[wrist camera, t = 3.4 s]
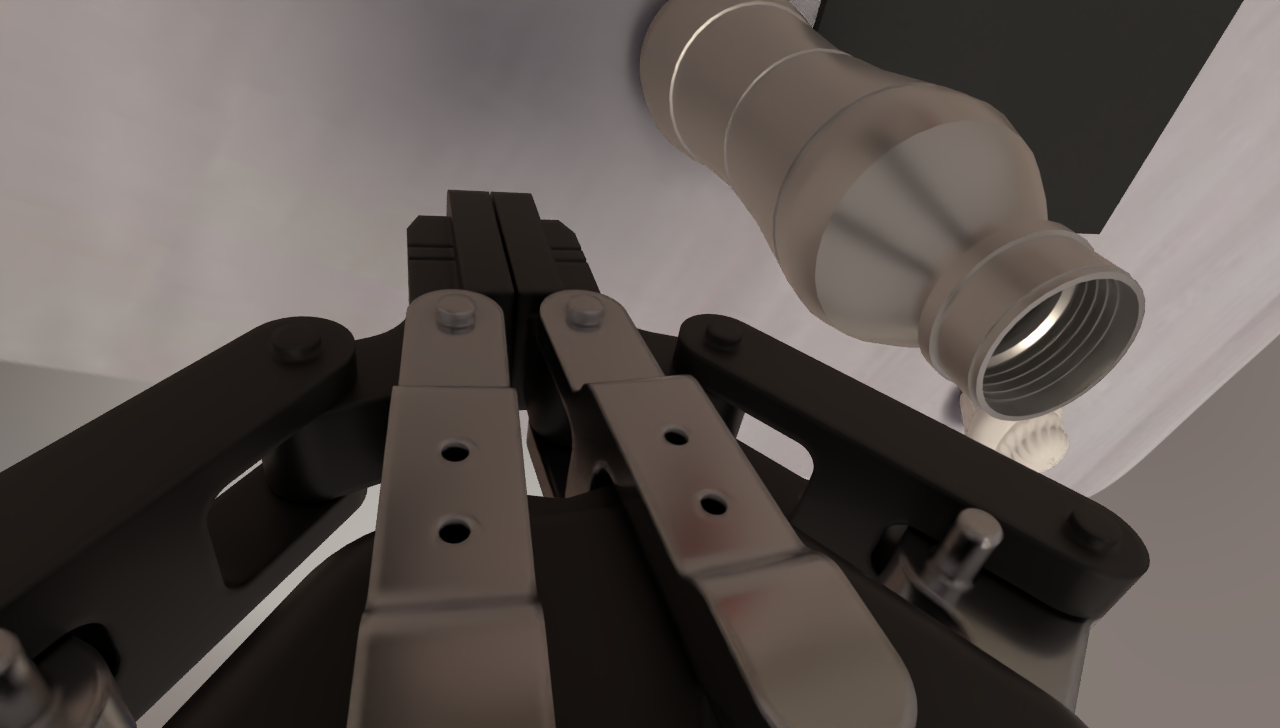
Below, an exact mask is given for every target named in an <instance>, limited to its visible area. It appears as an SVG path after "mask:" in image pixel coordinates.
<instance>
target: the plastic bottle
mask: <svg viewBox="0 0 1280 728" xmlns="http://www.w3.org/2000/svg"><path fill="white" fill-rule="evenodd" d="M640 79H641V86H642V90H643V93H644V97H645V100H646V103H647V106H648V109H649V112H650V114H651V116H652V118H653V120H654V122H655V124H656V126H657V128H658V129H659V130H660V132H661V133H662V134H663V135H664V136H665V138H666V139H667V140H668V141H669V142H671V143H672V144H673V145H674V146H676V147H677V148H678V149H679V150H681V151H682V152H684V153H685V154H686V155H688V156H689V157H690V158H692V159H693V160H695V161H698V162H700V163H702V164H704V165H706V166H707V167H708V168H710V169H711V170H712V171H713V172H714V173H715V174H717V175H718V176H719V177H720V178H721V179H722V180H724V181H725V182H726V183H727V184H728V185H729V186H731V188H732V189H733V190H734V192H735V193H736V194H737V196H738V197H739V198H740V200H741V201H742V203H743V204H744V205H745V207H746V208H747V210H748V211H749V212H750V214H751V215H752V216H753V218H754V219H755V220H756V222H757V224H758V225H759V227H760V229H761V231H762V233H763V235H764V237H765V239H766V241H767V243H768V244H769V246H770V248H771V250H772V252H773V254H774V256H775V258H776V260H777V261H778V263H779V265H780V267H781V269H782V271H783V273H784V274H785V277H786V279H787V281H788V282H789V284H790V285H791V287H792V288H793V289H794V291H795V292H796V294H797V296H798V297H799V299H800V300H801V301H802V302H803V304H804V305H805V306H806V307H807V308H808V310H809V311H810V312H811V313H812V314H813V315H815V316H816V317H818V318H819V319H820V320H822V321H823V322H825V323H826V324H828V325H830V326H832V327H834V328H835V329H837V330H839V331H841V332H843V333H844V334H846V335H848V336H851V337H854V338H856V339H859V340H862V341H865V342H872V343H879V344H886V345H893V346H900V347H909V348H920V350H921V353H922V354H923V356H924V357H925V359H926V360H927V362H928V363H929V364H930V365H931V366H932V367H933V368H934V369H935V370H936V371H937V372H938V373H939V374H940V375H941V376H943V377H944V378H945V379H947V380H949V381H952V382H954V383H955V384H956V385H957V386H958V387H959V388H960V389H961V390H962V391H963V392H964V393H965V395H966V396H968V398H969V399H970V400H971V401H972V402H973V403H974V404H975V405H976V406H977V407H979V408H980V409H981V410H983V411H984V412H986V413H987V414H989V415H990V416H991V417H994V418H997V419H1000V420H1005V421H1020V420H1028V419H1032V418H1036V417H1039V416H1043V415H1045V414H1048V413H1050V412H1053V411H1055V410H1057V409H1059V408H1061V407H1063V406H1065V405H1067V404H1069V403H1070V402H1072V401H1074V400H1075V399H1077V398H1078V397H1080V396H1081V395H1083V394H1084V393H1086V392H1087V391H1088V390H1090V389H1091V388H1092V387H1093V386H1095V385H1096V384H1097V383H1098V382H1100V381H1101V380H1102V379H1103V378H1104V377H1105V376H1106V375H1107V374H1108V373H1109V372H1110V371H1111V370H1112V369H1113V368H1114V367H1115V366H1116V364H1117V363H1118V362H1119V361H1120V360H1121V358H1122V357H1123V356H1124V355H1125V353H1126V352H1127V350H1128V349H1129V347H1130V346H1131V344H1132V343H1133V341H1134V339H1135V337H1136V335H1137V333H1138V331H1139V329H1140V327H1141V324H1142V320H1143V317H1144V313H1145V297H1144V294H1143V290H1142V288H1141V287H1140V285H1139V284H1138V283H1137V281H1136V280H1134V279H1133V278H1132V277H1131V276H1130V274H1129V273H1127V272H1126V271H1124V270H1123V269H1121V268H1119V267H1118V266H1116V265H1115V264H1113V263H1112V262H1110V261H1108V260H1107V259H1105V258H1104V257H1102V256H1101V255H1099V254H1098V253H1096V252H1094V249H1093V248H1092V246H1091V245H1090V244H1089V242H1088V241H1087V240H1086V239H1084V238H1083V237H1081V236H1080V235H1078V234H1077V233H1075V232H1073V231H1072V230H1070V229H1069V228H1067V227H1066V226H1064V225H1062V224H1060V223H1056V222H1053V221H1049V220H1048V216H1047V205H1046V198H1045V193H1044V189H1043V184H1042V180H1041V176H1040V171H1039V168H1038V165H1037V163H1036V160H1035V157H1034V154H1033V152H1032V151H1031V150H1030V148H1029V147H1028V145H1027V144H1026V143H1025V141H1024V140H1023V139H1022V137H1021V136H1020V135H1019V134H1018V132H1017V131H1016V130H1015V128H1014V127H1013V126H1012V124H1011V123H1010V122H1009V120H1008V119H1007V118H1006V117H1005V115H1004V114H1003V113H1001V112H1000V111H998V110H997V109H996V108H994V107H993V106H991V105H990V104H989V103H987V102H984V101H982V100H979V99H976V98H974V97H972V96H969V95H967V94H965V93H962V92H959V91H956V90H953V89H950V88H947V87H944V86H939V85H936V84H932V83H929V82H925V81H922V80H918V79H914V78H911V77H907V76H903V75H900V74H896V73H892V72H889V71H885V70H882V69H880V68H878V67H876V66H874V65H871V64H869V63H867V62H865V61H863V60H861V59H858V58H855V57H853V56H851V55H850V54H847V53H845V52H843V51H841V50H839V49H837V48H836V47H835V46H833V45H832V44H831V43H830V42H829V41H827V40H826V39H825V38H824V37H822V36H821V35H820V34H819V33H817V32H816V31H815V30H814V29H813V28H812V27H811V26H810V25H809V23H808V22H807V20H806V19H805V18H804V17H803V16H802V15H801V13H800V12H799V11H798V10H797V9H796V8H795V7H794V6H793V5H792V4H791V3H790V2H789V1H788V0H668V1H667V2H666V3H665V4H664V5H663V6H662V8H661V9H660V10H659V12H658V13H657V15H656V16H655V17H654V19H653V20H652V23H651V25H650V27H649V29H648V31H647V33H646V35H645V39H644V43H643V46H642V50H641V57H640Z"/></svg>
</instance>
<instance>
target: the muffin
mask: <svg viewBox="0 0 1280 728" xmlns="http://www.w3.org/2000/svg"><path fill="white" fill-rule="evenodd" d="M959 402H960V408H961V414H962V420H963V425H964V431H965V436H967V437H969V438H971V439H973V440H975V441H977V442H979V443H981V444H983V445H985V446H987V447H989V448H991V449H993V450H995V451H997V452H999V453H1001V454H1003V455H1005V456H1007V457H1009V458H1011V459H1013V460H1015V461H1016V462H1018V463H1020V464H1022V465H1024V466H1026V467H1028V468H1030V469H1032V470H1034V471H1036V472H1038V473H1041V472H1043V471H1047V470H1049V469H1050V468H1051V467H1054V466H1055V465H1056V463H1058V462H1060V461H1061V459H1062V458H1063V457H1064V456H1065V455H1066V452H1067V450H1068V448H1069V444H1068V436H1067V434H1065V433H1064V431H1063V430H1062V427H1063V423H1062V407H1061V408H1059V409H1057V410H1055V411H1053V412H1050V413H1048V414H1045V415H1043V416H1039V417H1036V418H1032V419H1028V420H1020V421H1005V420H1000V419H997V418H994V417H991V416H990V415H989V414H987V413H986V412H984V411H983V410H981V409H980V408H979V407H977V406H976V405H975V404H974V403H973V402H972V401H971V400H970V399H969V398H968V396H966V395H965V393H964V392H963V391H962V394H961V395H960V400H959Z"/></svg>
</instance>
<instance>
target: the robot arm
mask: <svg viewBox="0 0 1280 728" xmlns="http://www.w3.org/2000/svg"><path fill="white" fill-rule="evenodd" d="M407 251H408V287H409V306H408V308H407V312H406V318H405V320H404V321H403V322H402V323H401V324H399V325H398V326H396V327H395V328H393V329H391V330H389V331H387V332H385V333H382V334H380V335H376V336H373V337H369V338H364V339H359V340H354V337H353V335H352V333H351V332H350V331H349V330H348V329H347V328H345V327H344V326H343V325H341V324H339V323H337V322H334V321H331V320H328V319H324V318H318V317H305V316H299V317H288V318H282V319H278V320H274V321H270V322H268V323H265V324H262V325H260V326H258V327H256V328H254V329H252V330H251V331H249V332H247V333H245V334H244V335H242V336H240V337H238V338H237V339H235V340H233V341H231V342H230V343H228V344H226V345H224V346H222V347H221V348H219V349H217V350H215V351H214V352H212V353H210V354H208V355H207V356H205V357H203V358H201V359H200V360H198V361H196V362H194V363H193V364H191V365H189V366H187V367H186V368H184V369H182V370H180V371H178V372H177V373H175V374H173V375H171V376H170V377H168V378H166V379H164V380H163V381H161V382H159V383H157V384H156V385H154V386H152V387H150V388H149V389H147V390H145V391H143V392H142V393H140V394H138V395H136V396H134V397H133V398H131V399H129V400H127V401H126V402H124V403H122V404H121V405H119V406H117V407H115V408H113V409H112V410H110V411H108V412H106V413H105V414H103V415H101V416H99V417H98V418H96V419H94V420H92V421H91V422H89V423H87V424H85V425H84V426H82V427H80V428H78V429H76V430H75V431H73V432H72V433H69V434H68V435H66V436H65V437H62V438H60V439H59V440H57V441H55V442H53V443H52V444H50V445H48V446H46V447H45V448H43V449H41V450H39V451H38V452H36V453H34V454H32V455H31V456H29V457H27V458H25V459H24V460H22V461H20V462H18V463H16V464H15V465H13V466H11V467H9V468H8V469H6V470H4V471H2V472H1V473H0V728H137V725H136V721H137V720H138V719H139V718H140V717H141V716H142V715H143V714H145V712H147V711H148V710H149V709H150V708H151V707H152V706H153V705H154V704H155V703H156V702H157V701H158V700H159V699H160V698H161V697H162V696H163V695H164V694H165V693H166V692H167V691H169V690H170V688H172V687H173V686H174V685H175V684H176V683H177V682H178V681H179V680H180V679H181V678H182V677H183V676H184V675H185V674H186V673H187V672H188V671H189V670H190V669H191V668H192V667H194V665H196V664H197V663H198V661H200V660H201V659H202V658H203V657H204V656H205V655H206V654H207V653H208V652H209V651H210V650H211V649H212V648H213V647H214V646H215V645H216V644H218V643H219V641H221V640H222V639H223V638H224V637H225V636H226V635H227V634H228V633H229V632H230V631H231V630H232V629H233V628H234V627H235V626H236V625H237V624H238V623H239V622H240V621H242V620H243V619H244V618H245V617H246V616H247V615H248V614H249V613H250V612H251V611H252V610H253V609H254V608H255V607H256V606H257V605H258V604H259V603H260V602H261V601H262V600H263V599H264V598H265V597H267V596H268V595H269V594H270V593H271V592H272V591H273V590H274V589H275V588H276V587H277V586H278V585H279V584H280V583H281V582H282V581H283V580H284V579H285V578H286V577H287V576H288V575H289V574H291V573H292V572H293V571H294V570H295V569H296V568H297V567H298V566H299V565H300V564H301V563H302V562H303V561H304V560H305V559H306V558H307V557H308V556H309V555H310V554H311V553H312V552H313V551H314V550H316V549H317V548H318V547H319V546H320V545H321V544H322V543H323V542H324V541H325V540H326V539H327V538H328V537H329V536H330V535H331V534H332V533H333V532H334V531H335V530H336V529H337V528H338V527H339V526H340V525H342V524H343V523H344V522H345V521H346V520H347V519H348V518H349V517H350V516H351V515H352V514H353V513H354V512H355V511H356V510H357V509H358V508H359V507H360V506H361V504H362V503H363V501H364V499H365V497H366V494H367V488H368V487H371V486H373V485H377V484H380V483H381V487H380V496H379V505H378V513H377V521H376V530H375V531H374V532H371V533H369V534H366V535H364V536H362V537H361V538H359V539H357V540H355V541H353V542H352V543H349V544H347V545H346V546H345V547H343V548H341V549H340V550H339V551H337V552H335V553H334V554H332V555H331V556H330V557H328V558H327V559H326V560H324V561H323V562H322V563H321V564H320V565H318V566H317V567H316V568H315V569H314V570H313V571H311V572H310V573H309V574H308V575H307V576H306V577H305V578H304V579H303V580H302V582H300V583H299V585H298V586H296V588H295V589H294V590H293V591H292V592H291V593H290V594H289V595H288V596H287V597H286V598H285V599H284V600H283V601H282V602H281V603H280V604H279V605H278V607H276V608H275V610H274V611H273V612H272V613H271V614H270V615H269V616H268V617H267V618H266V619H265V620H264V621H263V622H262V623H261V624H260V625H259V626H258V628H256V630H254V632H253V633H252V634H251V635H250V636H249V637H248V638H247V639H246V640H245V641H244V642H243V643H242V644H241V645H240V646H239V647H238V648H237V649H236V650H235V651H234V652H233V654H232V655H231V656H230V657H229V658H228V659H227V660H226V661H225V662H224V663H223V664H222V665H221V666H220V667H219V668H218V669H217V670H216V671H215V672H214V674H212V675H211V677H210V678H209V679H208V680H207V681H206V682H205V683H204V684H203V685H202V686H201V687H200V688H199V689H198V690H197V691H196V692H195V693H194V694H193V695H192V696H191V697H190V699H189V700H188V701H187V702H186V703H185V704H184V705H183V706H182V707H181V708H180V709H179V710H178V711H177V712H176V713H175V714H174V715H173V717H171V719H169V720H168V722H167V723H166V724H165V725H164V726H163V727H162V728H1088V727H1087V726H1086V725H1085V724H1084V723H1083V722H1082V721H1081V720H1080V719H1079V718H1078V717H1077V716H1076V715H1075V714H1074V713H1075V708H1076V703H1077V697H1078V692H1079V686H1080V681H1081V675H1082V669H1083V664H1084V659H1085V653H1086V648H1087V642H1088V637H1089V631H1090V630H1091V629H1092V628H1093V627H1094V626H1095V625H1096V623H1097V622H1098V621H1099V620H1100V619H1101V618H1102V617H1103V616H1104V615H1105V614H1106V613H1107V612H1108V611H1109V610H1110V609H1111V608H1112V607H1113V606H1114V605H1115V604H1116V603H1117V602H1118V600H1119V599H1120V598H1121V597H1122V596H1123V595H1124V594H1125V593H1126V592H1127V591H1128V590H1129V589H1130V588H1131V587H1132V586H1133V585H1134V584H1135V582H1137V580H1139V578H1140V577H1141V576H1142V575H1143V574H1144V573H1145V572H1146V571H1147V569H1148V567H1149V563H1150V559H1149V554H1148V551H1147V549H1146V546H1145V545H1144V543H1143V542H1142V540H1141V538H1140V537H1139V536H1138V534H1137V533H1136V532H1135V531H1134V530H1133V529H1132V528H1131V527H1130V526H1129V525H1128V524H1127V523H1126V522H1125V521H1124V520H1122V519H1121V518H1120V517H1119V516H1117V515H1116V514H1115V513H1113V512H1112V511H1110V510H1109V509H1107V508H1106V507H1104V506H1102V505H1101V504H1099V503H1097V502H1095V501H1093V500H1091V499H1089V498H1087V497H1085V496H1083V495H1081V494H1079V493H1077V492H1075V491H1073V490H1071V489H1069V488H1068V487H1066V486H1064V485H1062V484H1060V483H1058V482H1056V481H1054V480H1052V479H1050V478H1048V477H1046V476H1044V475H1042V474H1040V473H1038V472H1036V471H1034V470H1032V469H1030V468H1028V467H1026V466H1024V465H1022V464H1020V463H1018V462H1016V461H1015V460H1013V459H1011V458H1009V457H1007V456H1005V455H1003V454H1001V453H999V452H997V451H995V450H993V449H991V448H989V447H987V446H985V445H983V444H981V443H979V442H977V441H975V440H973V439H971V438H969V437H967V436H965V435H963V434H961V433H960V432H958V431H956V430H954V429H952V428H950V427H948V426H946V425H944V424H942V423H940V422H938V421H936V420H934V419H932V418H930V417H928V416H926V415H924V414H922V413H920V412H918V411H916V410H914V409H912V408H910V407H908V406H907V405H905V404H903V403H901V402H899V401H897V400H895V399H893V398H891V397H889V396H887V395H885V394H883V393H881V392H879V391H877V390H875V389H873V388H871V387H869V386H867V385H865V384H863V383H861V382H859V381H857V380H855V379H854V378H852V377H850V376H848V375H846V374H844V373H842V372H840V371H838V370H836V369H834V368H832V367H830V366H828V365H826V364H824V363H822V362H820V361H818V360H816V359H814V358H812V357H810V356H808V355H806V354H804V353H802V352H800V351H799V350H797V349H795V348H793V347H791V346H789V345H787V344H785V343H783V342H781V341H779V340H777V339H775V338H773V337H771V336H769V335H767V334H765V333H763V332H761V331H759V330H757V329H755V328H753V327H751V326H749V325H747V324H746V323H744V322H741V321H739V320H737V319H734V318H731V317H727V316H723V315H717V314H701V315H696V316H693V317H690V318H688V319H686V320H685V321H684V322H683V323H682V325H681V327H680V331H679V335H678V337H675V336H669V335H664V334H659V333H653V332H648V331H644V330H641V329H638V328H636V326H635V325H634V323H633V321H632V320H631V318H630V316H629V315H628V313H627V311H626V310H625V308H624V307H623V306H622V305H621V304H620V303H618V302H617V301H616V300H614V299H612V298H610V297H608V296H606V295H603V294H601V293H600V291H599V288H598V286H597V284H596V281H595V279H594V277H593V274H592V272H591V270H590V267H589V265H588V263H586V258H585V256H584V253H583V251H581V246H580V244H579V242H578V239H577V237H576V235H575V233H574V232H573V231H571V230H570V229H569V228H568V227H566V226H565V225H564V224H563V223H561V222H560V221H559V220H541V219H540V217H539V214H538V211H537V208H536V205H535V203H534V200H533V197H532V195H531V194H530V193H509V192H491V193H490V195H489V192H485V191H464V190H448V191H447V216H421V215H419V216H418V217H417V218H416V219H415V220H414V221H413V222H412V223H411V225H410V226H409V227H408V228H407ZM519 410H527V412H528V416H529V421H528V431H527V447H528V450H529V453H530V457H531V460H532V462H533V466H534V469H535V472H536V475H537V478H538V481H539V484H540V487H541V490H542V493H543V497H541V496H531V495H527V490H526V479H525V470H524V459H523V449H522V439H521V428H520V418H519ZM744 413H747V414H749V415H751V416H752V417H754V418H756V419H758V420H759V421H761V422H763V423H765V424H766V425H768V426H770V427H772V428H774V429H775V430H777V431H779V432H781V433H782V434H784V435H786V436H788V437H789V438H791V439H793V440H795V441H796V442H798V443H800V444H801V445H802V446H803V447H805V448H806V450H807V451H808V452H809V454H810V455H811V457H812V460H813V464H814V469H813V473H812V475H811V478H810V480H806V479H804V478H802V477H800V476H799V475H797V474H795V473H793V472H792V471H790V470H788V469H787V468H785V467H783V466H782V465H780V464H778V463H777V462H775V461H773V460H771V459H770V458H768V457H766V456H765V455H763V454H761V453H760V452H758V451H756V450H754V449H753V448H751V447H749V446H748V445H746V444H744V443H743V442H741V441H739V440H737V439H736V437H737V434H738V431H739V428H740V425H741V422H742V419H743V416H744ZM261 459H262V464H260V465H259V466H258V467H256V468H255V469H254V470H253V471H251V472H250V473H249V474H247V475H246V476H245V477H243V478H242V479H241V480H239V481H238V482H237V483H236V484H234V485H233V486H232V487H230V488H229V489H228V490H226V491H225V492H224V493H222V494H221V495H220V496H219V497H217V495H218V494H219V493H220V492H221V491H222V489H223V488H224V487H226V486H227V485H228V484H229V483H230V482H232V481H233V480H234V479H236V478H237V477H238V476H240V475H241V474H242V473H244V472H245V471H246V470H248V469H249V468H250V467H252V466H253V465H254V464H256V463H257V462H258V461H259V460H261ZM216 497H217V498H216ZM215 498H216V499H215Z"/></svg>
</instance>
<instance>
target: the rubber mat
mask: <svg viewBox="0 0 1280 728" xmlns="http://www.w3.org/2000/svg"><path fill="white" fill-rule="evenodd" d="M1243 1H1244V0H822V3H821V6H820V10H819V13H818V16H817V20H816V23H815V27H814V30H815V31H816V32H817V33H819V34H820V35H821V36H822V37H824V38H825V39H826V40H827V41H829V42H830V43H831V44H832V45H833V46H835V47H836V48H837V49H839V50H841V51H843V52H845V53H847V54H850V55H851V56H853V57H855V58H858V59H861V60H863V61H865V62H867V63H869V64H871V65H874V66H876V67H878V68H880V69H882V70H885V71H889V72H892V73H896V74H900V75H903V76H907V77H911V78H914V79H918V80H922V81H925V82H929V83H932V84H936V85H939V86H944V87H947V88H950V89H953V90H956V91H959V92H962V93H965V94H967V95H969V96H972V97H974V98H976V99H979V100H982V101H984V102H987V103H989V104H990V105H991V106H993V107H994V108H996V109H997V110H998V111H1000V112H1001V113H1003V114H1004V115H1005V117H1006V118H1007V119H1008V120H1009V122H1010V123H1011V124H1012V126H1013V127H1014V128H1015V130H1016V131H1017V132H1018V134H1019V135H1020V136H1021V137H1022V139H1023V140H1024V141H1025V143H1026V144H1027V145H1028V147H1029V148H1030V150H1031V151H1032V152H1033V154H1034V157H1035V160H1036V163H1037V165H1038V168H1039V171H1040V176H1041V180H1042V184H1043V189H1044V193H1045V198H1046V205H1047V216H1048V220H1049V221H1053V222H1056V223H1060V224H1062V225H1064V226H1066V227H1067V228H1069V229H1070V230H1072V231H1073V232H1075V233H1083V234H1100V232H1101V231H1102V229H1103V228H1104V226H1105V224H1106V223H1107V221H1108V220H1109V218H1110V216H1111V215H1112V213H1113V211H1114V210H1115V208H1116V207H1117V205H1118V203H1119V202H1120V200H1121V198H1122V197H1123V195H1124V194H1125V192H1126V190H1127V189H1128V187H1129V185H1130V184H1131V182H1132V181H1133V179H1134V177H1135V176H1136V174H1137V173H1138V171H1139V169H1140V168H1141V166H1142V164H1143V163H1144V161H1145V160H1146V158H1147V156H1148V155H1149V153H1150V151H1151V150H1152V148H1153V147H1154V145H1155V143H1156V142H1157V140H1158V138H1159V137H1160V135H1161V134H1162V132H1163V130H1164V129H1165V127H1166V125H1167V124H1168V122H1169V121H1170V119H1171V117H1172V116H1173V114H1174V113H1175V111H1176V109H1177V108H1178V106H1179V104H1180V103H1181V101H1182V100H1183V98H1184V96H1185V95H1186V93H1187V91H1188V90H1189V88H1190V87H1191V85H1192V83H1193V82H1194V80H1195V78H1196V77H1197V75H1198V74H1199V72H1200V70H1201V69H1202V67H1203V66H1204V64H1205V62H1206V61H1207V59H1208V57H1209V56H1210V54H1211V53H1212V51H1213V49H1214V48H1215V46H1216V44H1217V43H1218V41H1219V40H1220V38H1221V36H1222V35H1223V33H1224V31H1225V30H1226V28H1227V27H1228V25H1229V23H1230V22H1231V20H1232V19H1233V17H1234V15H1235V14H1236V12H1237V10H1238V9H1239V7H1240V6H1241V4H1242V2H1243Z"/></svg>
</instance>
